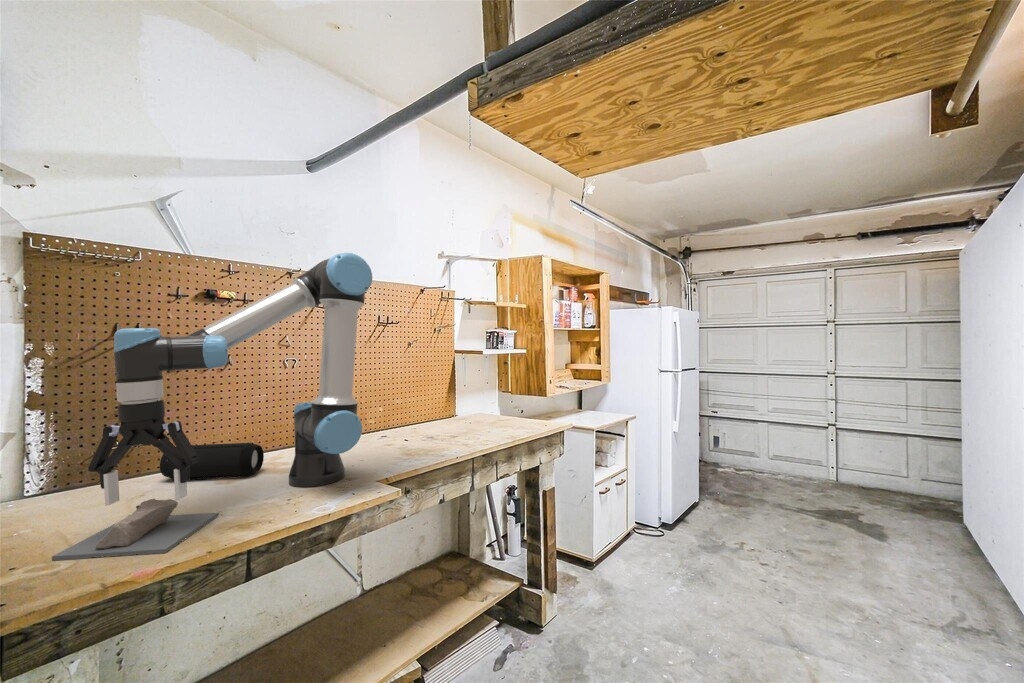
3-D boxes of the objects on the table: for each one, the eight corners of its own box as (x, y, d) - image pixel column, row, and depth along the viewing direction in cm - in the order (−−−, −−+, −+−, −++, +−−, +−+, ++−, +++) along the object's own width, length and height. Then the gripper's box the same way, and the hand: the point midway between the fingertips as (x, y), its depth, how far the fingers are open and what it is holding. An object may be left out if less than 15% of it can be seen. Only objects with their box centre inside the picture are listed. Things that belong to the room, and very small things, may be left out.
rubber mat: (218, 515, 102) (218, 512, 102) (165, 553, 84) (165, 549, 84) (126, 521, 100) (126, 517, 100) (51, 560, 82) (51, 556, 82)
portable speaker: (265, 470, 139) (264, 439, 138) (249, 480, 129) (249, 446, 129) (180, 474, 136) (179, 442, 136) (157, 484, 126) (156, 450, 126)
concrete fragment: (87, 549, 84) (86, 518, 84) (157, 519, 98) (156, 493, 98) (118, 551, 83) (117, 520, 83) (184, 521, 97) (183, 494, 97)
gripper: (214, 395, 97) (219, 489, 97) (92, 401, 94) (98, 498, 94) (193, 400, 89) (198, 502, 90) (60, 407, 87) (66, 512, 87)
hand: (147, 500), depth 92 cm, fingers open, 13 cm apart
